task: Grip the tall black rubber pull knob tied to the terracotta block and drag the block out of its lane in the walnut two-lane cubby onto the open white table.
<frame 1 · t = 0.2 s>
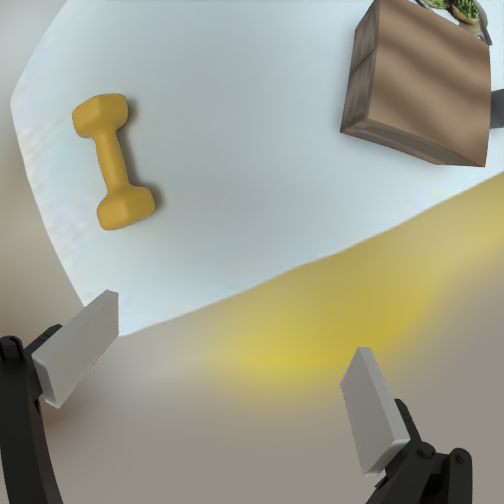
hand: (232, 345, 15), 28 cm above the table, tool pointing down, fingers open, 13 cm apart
dumbbell: (125, 160, 40), on the table
lane shelf: (399, 93, 34), on the table
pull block: (423, 80, 33), on the table
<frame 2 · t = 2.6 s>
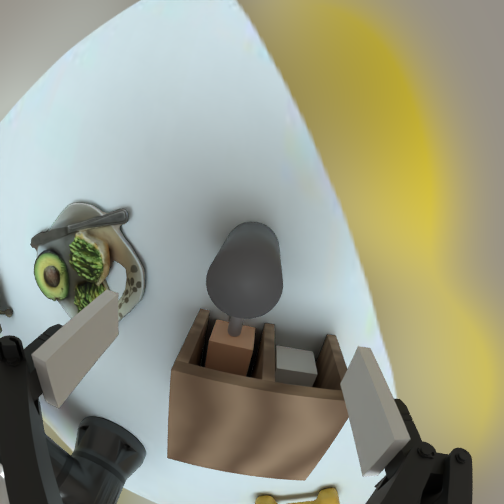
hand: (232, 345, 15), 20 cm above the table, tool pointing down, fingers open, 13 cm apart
dumbbell: (296, 494, 49), on the table
avocado toast plate: (86, 267, 36), on the table
lane shelf: (256, 371, 38), on the table
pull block: (231, 342, 37), on the table
grey lane block: (288, 365, 38), resting in lane shelf
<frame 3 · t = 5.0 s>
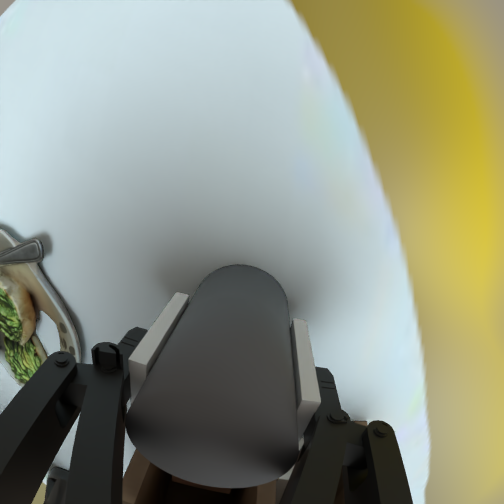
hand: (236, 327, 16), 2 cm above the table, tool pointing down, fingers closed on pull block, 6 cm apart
avocado toast plate: (15, 313, 22), on the table
lane shelf: (249, 460, 23), on the table
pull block: (213, 430, 22), on the table, touching gripper
grey lane block: (295, 454, 23), resting in lane shelf
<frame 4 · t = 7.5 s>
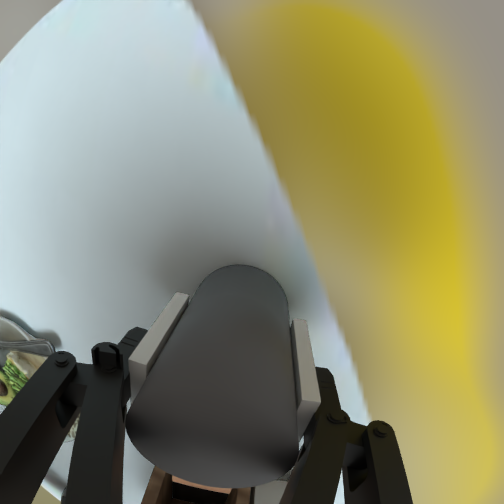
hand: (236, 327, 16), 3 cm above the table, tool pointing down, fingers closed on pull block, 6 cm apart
avocado toast plate: (32, 379, 24), on the table
lane shelf: (234, 492, 26), on the table
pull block: (213, 431, 22), on the table, touching gripper
grey lane block: (271, 489, 26), resting in lane shelf
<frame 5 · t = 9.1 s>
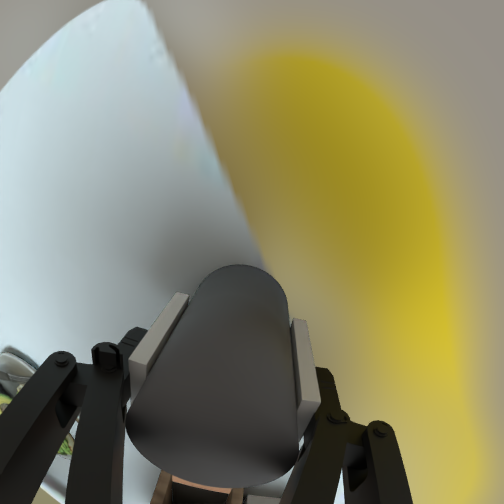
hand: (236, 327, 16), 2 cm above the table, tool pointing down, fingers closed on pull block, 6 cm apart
avocado toast plate: (40, 405, 26), on the table
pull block: (213, 431, 22), on the table, touching gripper
when the fingers open (2 cm above the table, at t = 9.9 s): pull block stays where it is, on the table.
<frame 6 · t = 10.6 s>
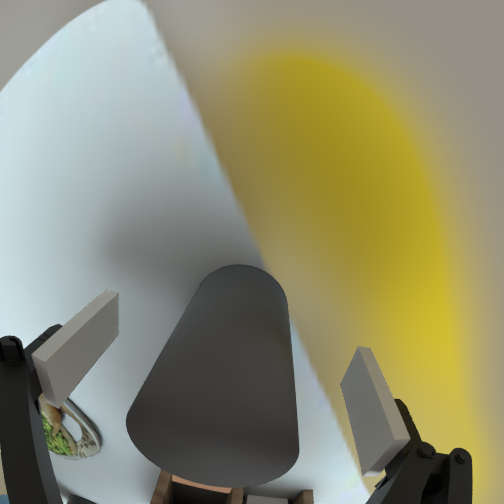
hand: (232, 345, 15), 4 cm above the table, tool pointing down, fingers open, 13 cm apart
avocado toast plate: (40, 405, 26), on the table
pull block: (213, 430, 22), on the table
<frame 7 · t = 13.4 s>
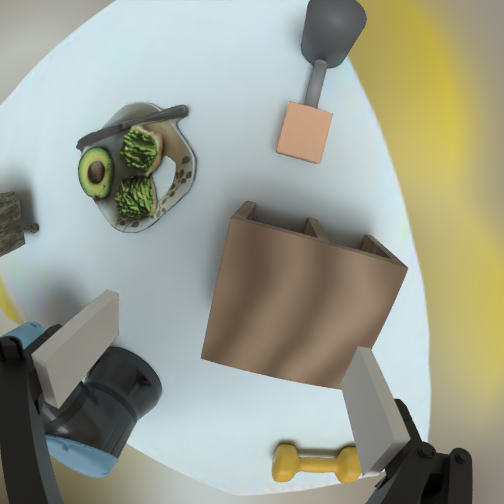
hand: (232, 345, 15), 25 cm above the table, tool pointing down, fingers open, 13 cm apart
dumbbell: (316, 450, 52), on the table
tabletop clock: (20, 213, 42), on the table
avocado toast plate: (133, 167, 38), on the table
lane shelf: (295, 274, 40), on the table
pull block: (301, 135, 35), on the table
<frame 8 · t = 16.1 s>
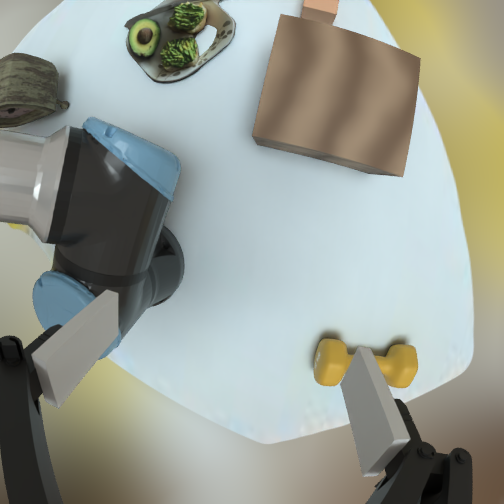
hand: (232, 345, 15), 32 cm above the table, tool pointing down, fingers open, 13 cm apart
dumbbell: (361, 351, 51), on the table
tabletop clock: (49, 99, 41), on the table
avocado toast plate: (176, 36, 37), on the table
lane shelf: (325, 109, 39), on the table
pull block: (318, 10, 34), on the table
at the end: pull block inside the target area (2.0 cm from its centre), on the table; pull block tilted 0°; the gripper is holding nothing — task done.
